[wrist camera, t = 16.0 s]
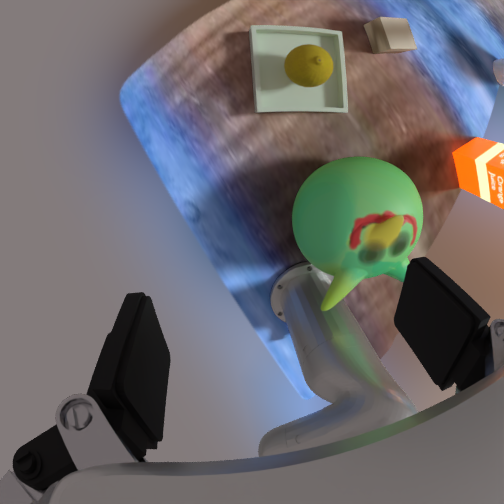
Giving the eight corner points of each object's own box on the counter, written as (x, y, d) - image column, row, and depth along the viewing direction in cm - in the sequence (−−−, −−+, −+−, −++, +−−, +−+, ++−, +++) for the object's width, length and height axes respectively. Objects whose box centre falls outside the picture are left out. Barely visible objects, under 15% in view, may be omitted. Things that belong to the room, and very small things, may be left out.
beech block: (398, 53, 30) (417, 49, 26) (373, 54, 30) (391, 48, 26) (388, 25, 28) (406, 18, 23) (363, 25, 28) (379, 17, 23)
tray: (340, 112, 34) (347, 112, 32) (254, 112, 33) (257, 112, 31) (334, 35, 29) (341, 31, 27) (248, 31, 28) (251, 25, 26)
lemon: (270, 73, 30) (283, 62, 23) (293, 45, 29) (312, 28, 22) (304, 98, 32) (326, 93, 25) (326, 69, 31) (352, 60, 23)
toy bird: (390, 150, 37) (455, 171, 24) (384, 247, 45) (433, 294, 32) (277, 153, 36) (311, 175, 23) (284, 263, 44) (311, 325, 31)
